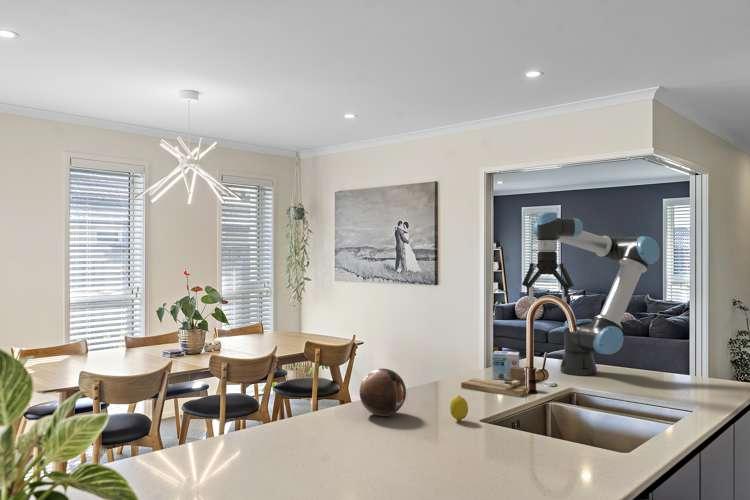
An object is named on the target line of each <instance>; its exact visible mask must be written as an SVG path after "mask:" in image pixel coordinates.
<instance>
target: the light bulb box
mask: <svg viewBox="0 0 750 500" xmlns="http://www.w3.org/2000/svg"><path fill="white" fill-rule="evenodd" d="M512 367H520V352H519V351H504V350H502V351H501V350H500V351H499V350H494V351H493V352H492V379H493V380H505V381H507V380H508V381H510V368H512Z"/></svg>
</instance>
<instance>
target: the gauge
mask: <svg viewBox="0 0 750 500" xmlns="http://www.w3.org/2000/svg"><path fill="white" fill-rule="evenodd" d="M524 368H525V367H521V366H519V367H512V368H510V380H509V381H507V380H505V381H504V383H505V384H504V388H508V389H509V388H512V387H514V386H516V385H523V386H525V374H524V373H525V371H524Z"/></svg>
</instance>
